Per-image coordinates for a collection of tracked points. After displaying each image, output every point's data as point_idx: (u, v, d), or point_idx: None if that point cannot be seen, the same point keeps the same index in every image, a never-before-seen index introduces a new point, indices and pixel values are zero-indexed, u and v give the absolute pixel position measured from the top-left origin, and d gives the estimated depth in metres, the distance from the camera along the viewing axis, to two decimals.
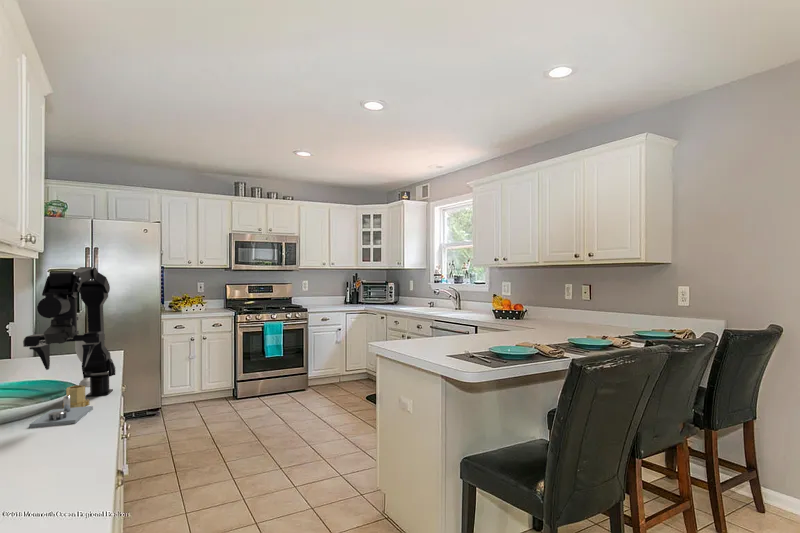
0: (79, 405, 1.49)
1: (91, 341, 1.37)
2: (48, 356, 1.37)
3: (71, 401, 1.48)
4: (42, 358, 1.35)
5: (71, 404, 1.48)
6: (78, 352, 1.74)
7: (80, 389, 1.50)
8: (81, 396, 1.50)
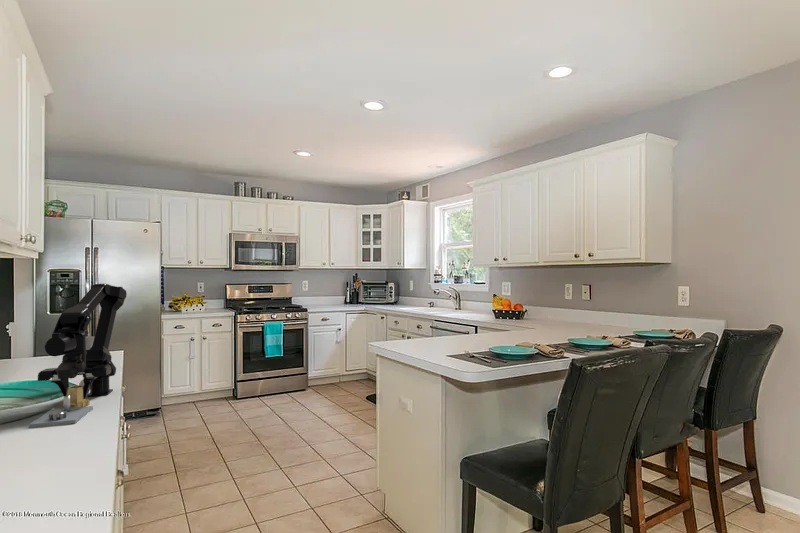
0: (79, 405, 1.49)
1: (99, 375, 1.50)
2: None
3: (71, 401, 1.48)
4: (62, 390, 1.49)
5: (71, 404, 1.48)
6: None
7: (80, 389, 1.50)
8: (81, 396, 1.50)
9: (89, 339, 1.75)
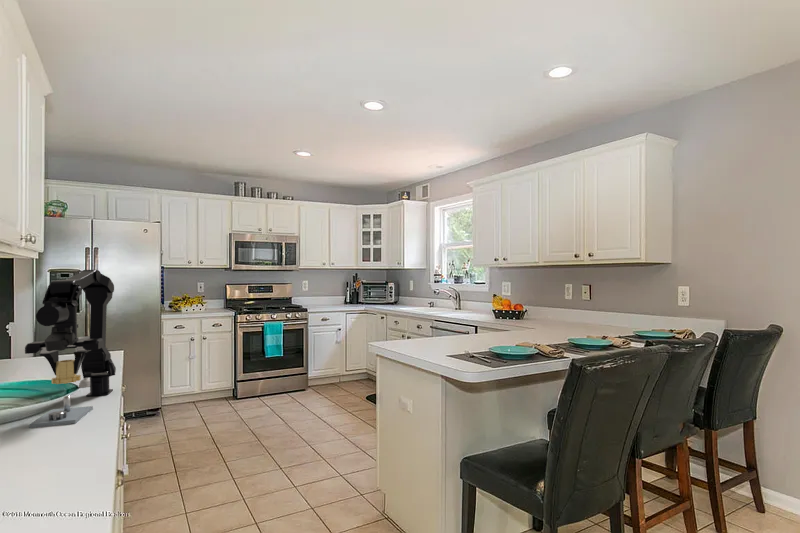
0: (69, 380, 1.39)
1: (91, 348, 1.40)
2: None
3: (61, 376, 1.39)
4: (51, 364, 1.39)
5: (61, 379, 1.39)
6: None
7: (70, 363, 1.40)
8: (71, 371, 1.41)
9: None
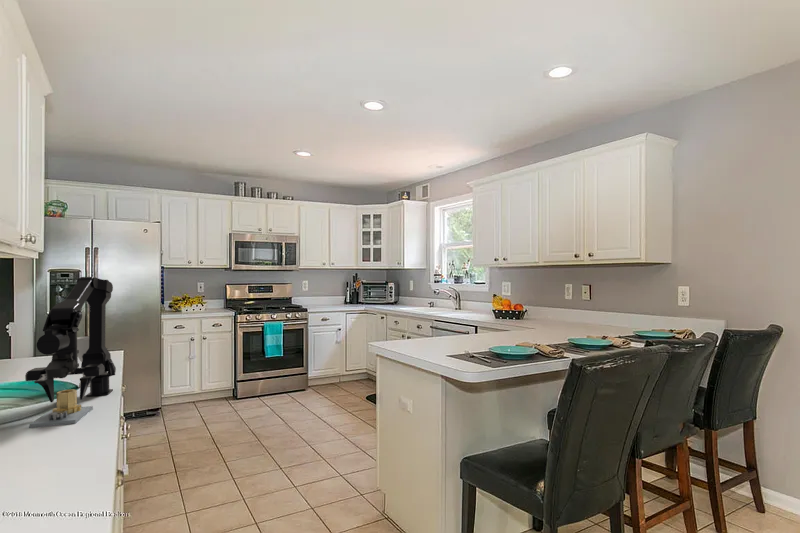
0: (70, 411, 1.39)
1: (91, 374, 1.40)
2: (52, 389, 1.41)
3: (61, 407, 1.39)
4: (47, 391, 1.39)
5: (62, 410, 1.39)
6: None
7: (71, 394, 1.40)
8: (72, 401, 1.41)
9: None
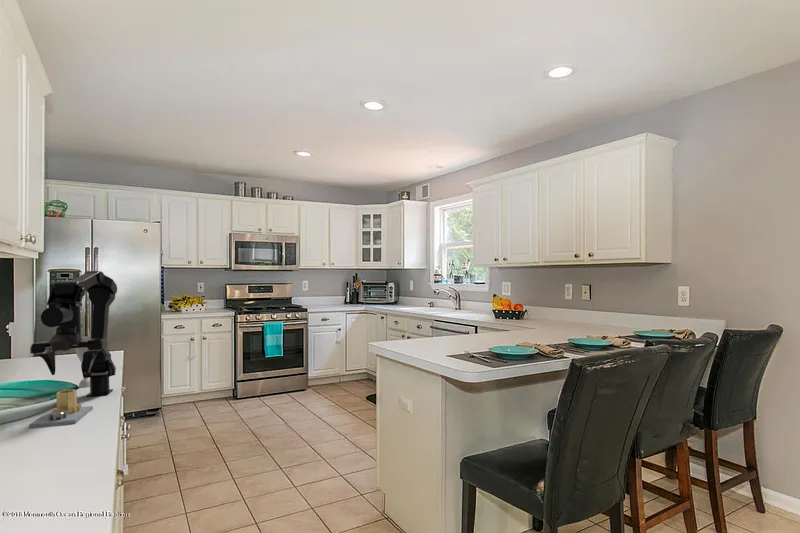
0: (70, 411, 1.39)
1: (94, 348, 1.43)
2: (54, 362, 1.44)
3: (61, 407, 1.39)
4: (48, 364, 1.42)
5: (62, 410, 1.39)
6: (78, 352, 1.74)
7: (71, 394, 1.40)
8: (72, 401, 1.41)
9: (89, 339, 1.75)
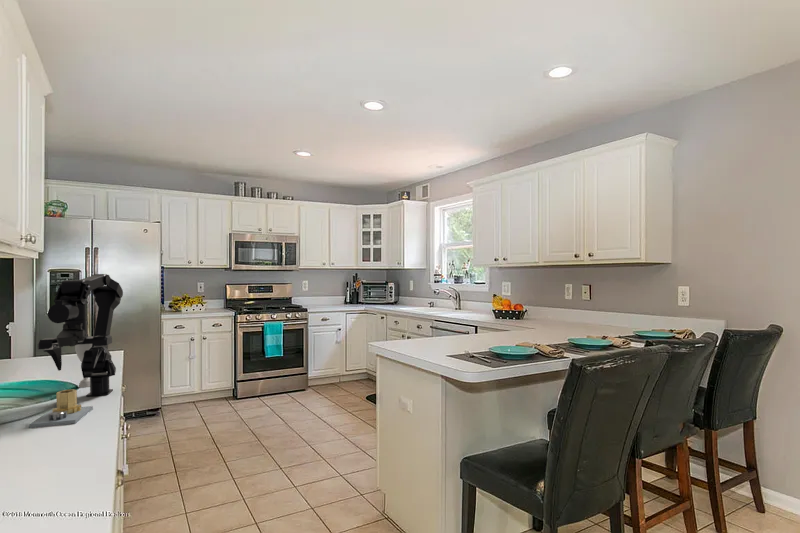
0: (70, 411, 1.39)
1: (100, 344, 1.48)
2: (60, 358, 1.49)
3: (61, 407, 1.39)
4: (55, 360, 1.46)
5: (62, 410, 1.39)
6: (78, 352, 1.74)
7: (71, 394, 1.40)
8: (72, 401, 1.41)
9: None
